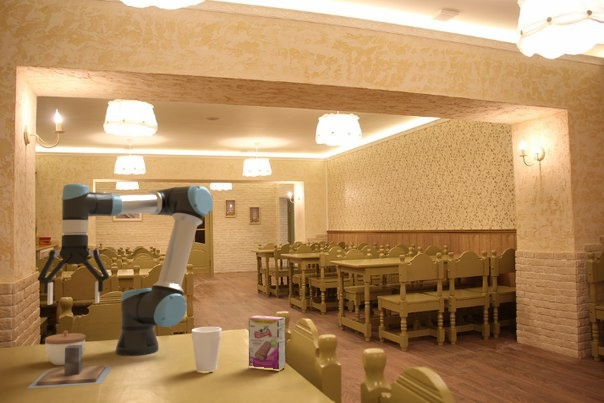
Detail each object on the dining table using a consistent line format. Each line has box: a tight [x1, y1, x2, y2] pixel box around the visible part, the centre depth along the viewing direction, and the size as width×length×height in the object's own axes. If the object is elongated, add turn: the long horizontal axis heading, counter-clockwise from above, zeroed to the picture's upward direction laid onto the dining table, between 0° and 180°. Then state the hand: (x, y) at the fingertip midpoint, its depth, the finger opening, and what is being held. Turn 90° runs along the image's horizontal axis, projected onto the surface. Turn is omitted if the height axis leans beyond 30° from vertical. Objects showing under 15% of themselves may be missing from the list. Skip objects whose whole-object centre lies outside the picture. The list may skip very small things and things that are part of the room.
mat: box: [27, 366, 114, 389], centre depth 159 cm, size 20×20×1 cm
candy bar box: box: [248, 315, 286, 369], centre depth 168 cm, size 11×5×16 cm, turn 65°
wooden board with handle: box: [37, 345, 107, 386], centre depth 159 cm, size 16×16×9 cm
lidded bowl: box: [44, 330, 87, 366], centre depth 177 cm, size 13×13×11 cm
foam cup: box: [191, 326, 223, 372], centre depth 166 cm, size 10×9×13 cm
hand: (73, 303), depth 160 cm, fingers open, 13 cm apart
